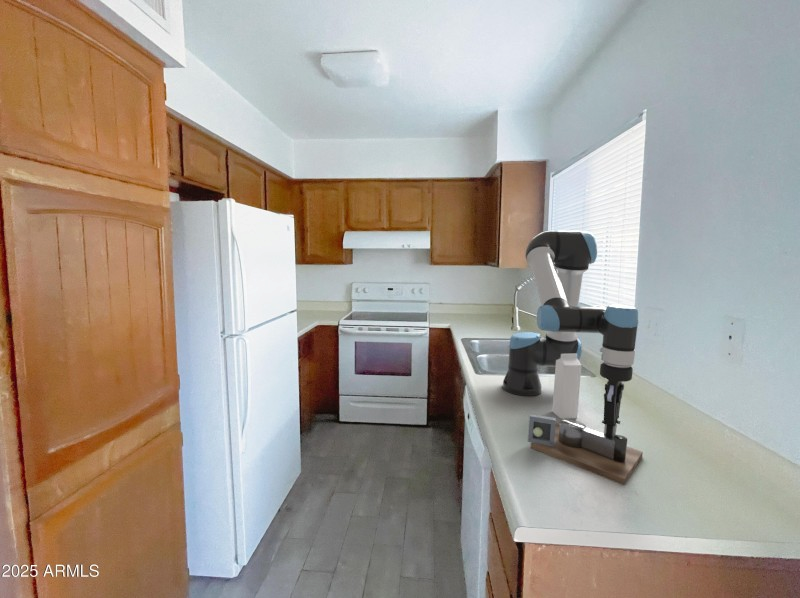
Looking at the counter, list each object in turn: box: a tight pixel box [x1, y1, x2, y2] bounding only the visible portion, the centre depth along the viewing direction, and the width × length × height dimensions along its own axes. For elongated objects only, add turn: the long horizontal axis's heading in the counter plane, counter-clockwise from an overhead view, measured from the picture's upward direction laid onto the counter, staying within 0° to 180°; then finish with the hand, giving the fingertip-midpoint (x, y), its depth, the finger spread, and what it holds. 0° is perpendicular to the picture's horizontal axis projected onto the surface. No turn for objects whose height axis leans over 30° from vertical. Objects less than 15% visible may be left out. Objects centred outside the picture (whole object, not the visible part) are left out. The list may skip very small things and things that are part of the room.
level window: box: [527, 413, 557, 447], centre depth 108 cm, size 3×7×8 cm, turn 68°
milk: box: [551, 354, 582, 420], centre depth 130 cm, size 6×6×22 cm
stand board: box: [530, 422, 644, 486], centre depth 107 cm, size 18×24×2 cm
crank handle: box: [558, 418, 628, 462], centre depth 105 cm, size 18×7×6 cm, turn 43°
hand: (608, 445), depth 104 cm, fingers closed
